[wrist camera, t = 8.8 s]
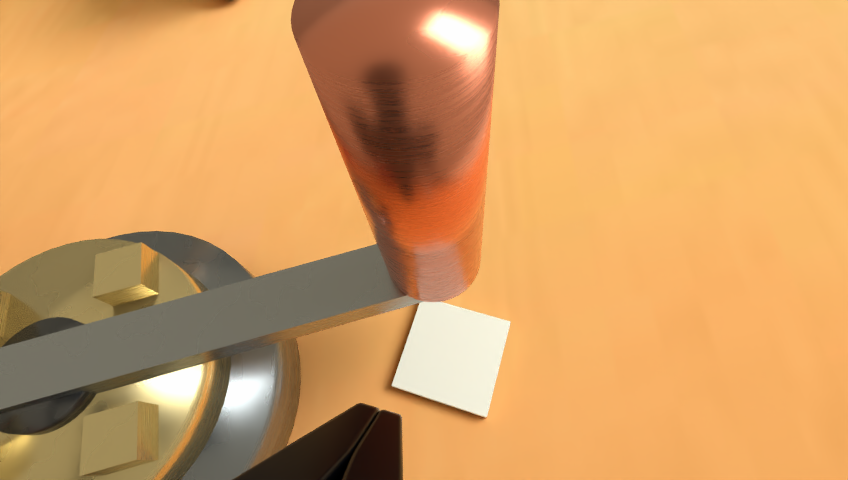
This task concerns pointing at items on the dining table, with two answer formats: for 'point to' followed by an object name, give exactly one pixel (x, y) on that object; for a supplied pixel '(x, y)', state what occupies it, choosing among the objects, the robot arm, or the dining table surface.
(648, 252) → the dining table surface
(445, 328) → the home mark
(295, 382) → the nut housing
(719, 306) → the dining table surface
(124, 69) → the dining table surface
